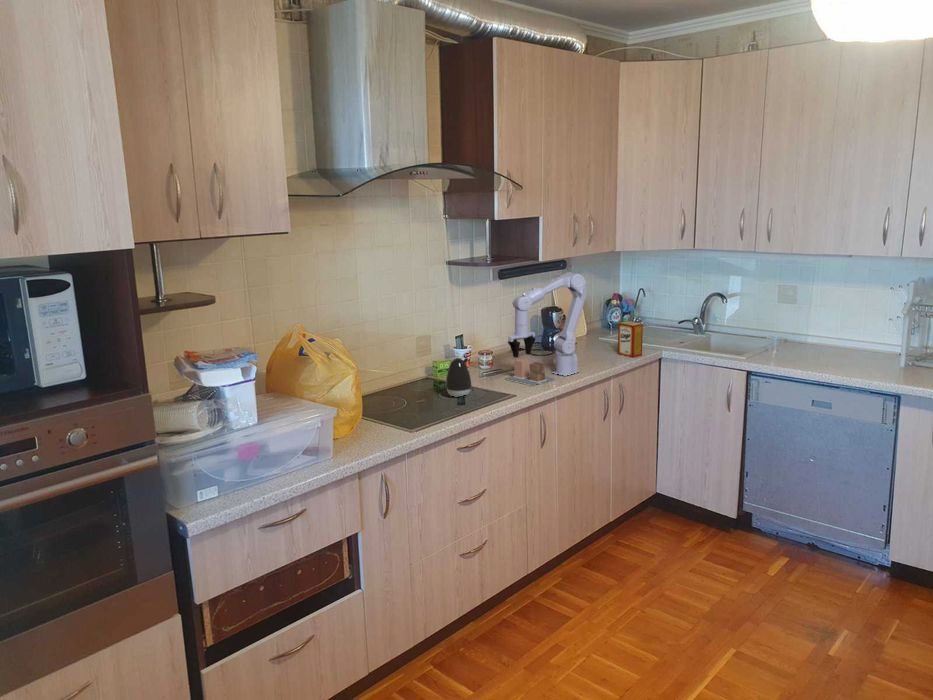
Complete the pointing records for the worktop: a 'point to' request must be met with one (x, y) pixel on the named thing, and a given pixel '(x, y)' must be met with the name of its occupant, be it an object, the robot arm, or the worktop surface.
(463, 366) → the black egg-shaped speaker
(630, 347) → the baking soda box
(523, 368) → the terracotta pillar
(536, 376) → the walnut pillar
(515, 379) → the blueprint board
